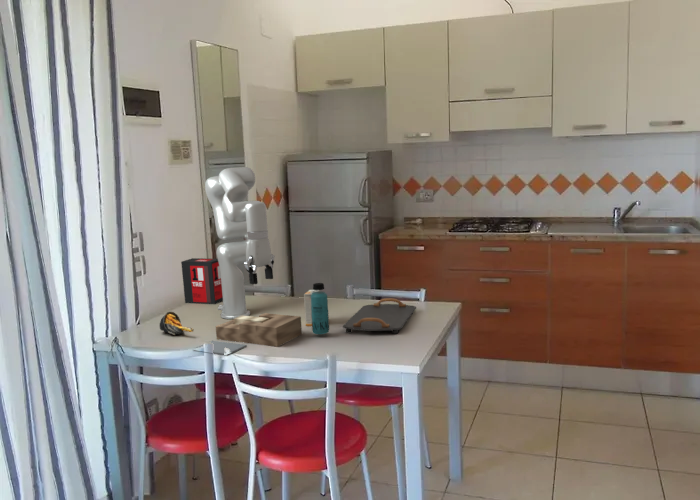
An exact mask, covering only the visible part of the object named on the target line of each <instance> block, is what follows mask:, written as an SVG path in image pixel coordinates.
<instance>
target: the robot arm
mask: <svg viewBox="0 0 700 500" xmlns="http://www.w3.org/2000/svg"><path fill="white" fill-rule="evenodd" d="M204 184H205V185H204V190H205V195H206V197H207V199H208V201H209V204H210V206H211V208H212V211H213V212H212V213H213V217H214V225H215V230H216V234H217V238H218V239H220V240H223V241H228V240H229V241H231V240H237V239H238V240H240V239H242V241H233V242H227V243H221V244H220V245H218V247H217V248H216V259H218V262H219V267H220V274H221V284H222V296H223V301H222V304H218V305H219V306H217V310H218V311H221V313H220V318H222V319H225V320H226V319H227V320H233V319H234V318H237V317H239V316H242V315H243V316H251V315H250V314H251V311H250V310H248V309H247V303H246V302H247V301H246V290H245V289H246V288H245V279H244V273H243V271H242V270H241V269H240V268H239V267H238V265H243V266H244V267H245V270H246V271H247V274H248V278H249V280H248V281H249V284H250V285H258V284H259V283H258V273H257V270H258V268H261V267H264V277H265V278H264V279H266V280H274V274H273V273H274V271H273V268H274V263H275V258H276V255H274V254H272V250H271V249H272V248H271V244H270V240H269V239H270V238H269V229H268V215H267V206H266V204H265V202H263V201H259V200H249V201H248V200H246V201H244V200H245V199H246V198H247V197H248V196H249V191H250V190H251V189H253V187H254V186H255V184H256V174H255V173H254V171H253V169H252V168H250V167H248V166H240V167H227V168H225V169H222V170H221V171H220V172H219V174H218V175H214V176H210V177H209V178H207V179H206V180H205V183H204Z"/></svg>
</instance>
